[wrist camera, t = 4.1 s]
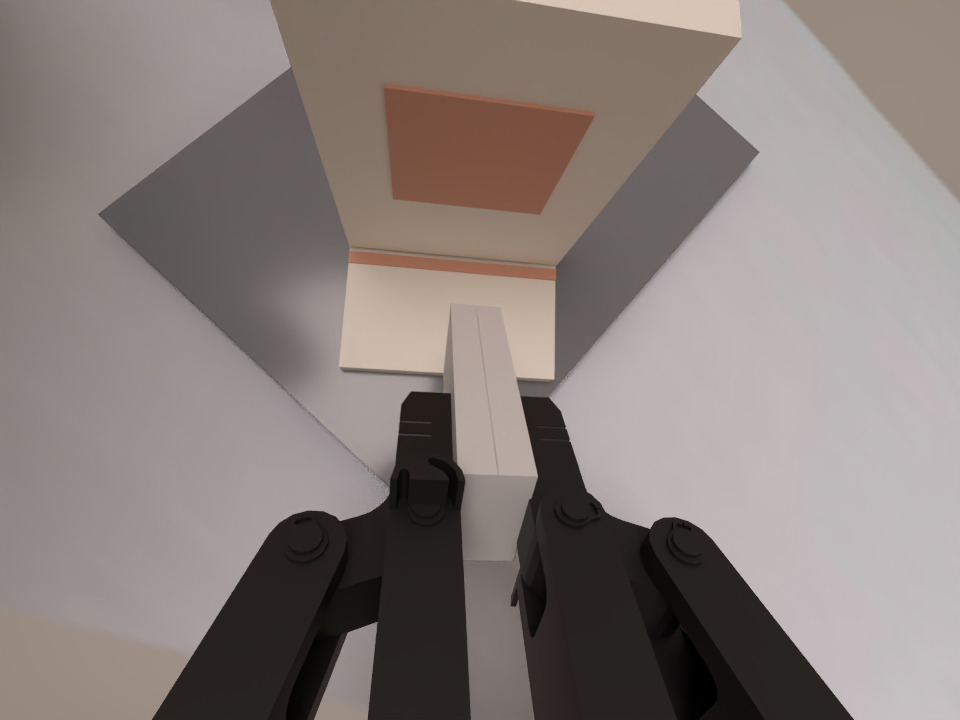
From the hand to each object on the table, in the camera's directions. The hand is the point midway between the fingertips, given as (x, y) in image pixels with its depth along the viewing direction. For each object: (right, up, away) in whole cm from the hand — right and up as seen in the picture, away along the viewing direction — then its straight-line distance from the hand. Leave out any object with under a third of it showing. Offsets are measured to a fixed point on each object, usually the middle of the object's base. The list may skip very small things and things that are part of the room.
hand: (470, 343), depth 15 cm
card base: (-1, +2, +6) cm, 7 cm away
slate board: (0, +8, +8) cm, 12 cm away
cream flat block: (-1, +5, +6) cm, 8 cm away
